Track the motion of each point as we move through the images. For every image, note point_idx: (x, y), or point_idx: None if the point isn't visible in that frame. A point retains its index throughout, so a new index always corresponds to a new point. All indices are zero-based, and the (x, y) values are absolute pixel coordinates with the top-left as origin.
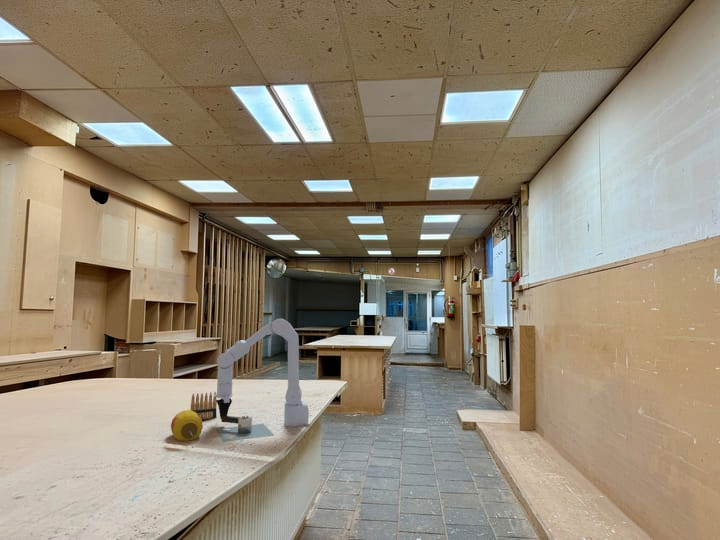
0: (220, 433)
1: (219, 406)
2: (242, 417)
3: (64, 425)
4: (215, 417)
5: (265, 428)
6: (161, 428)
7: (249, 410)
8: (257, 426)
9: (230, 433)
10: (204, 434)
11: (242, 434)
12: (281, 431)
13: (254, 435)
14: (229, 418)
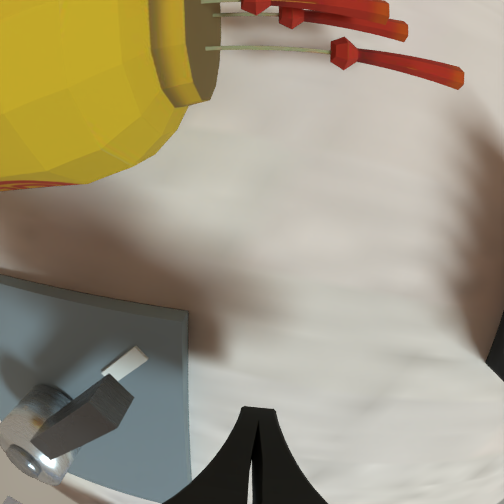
0: (55, 307)
1: (185, 489)
2: (10, 449)
3: None
4: (498, 368)
5: (102, 481)
6: (487, 12)
7: (497, 477)
8: (146, 483)
9: (45, 352)
10: (165, 219)
11: (24, 384)
12: (99, 494)
13: (10, 407)
14: (57, 419)
